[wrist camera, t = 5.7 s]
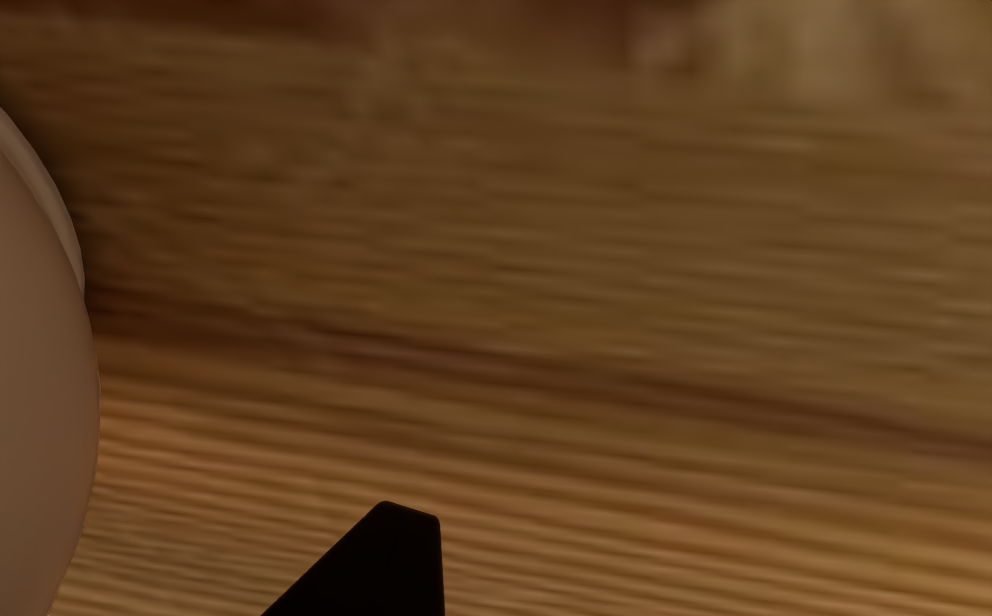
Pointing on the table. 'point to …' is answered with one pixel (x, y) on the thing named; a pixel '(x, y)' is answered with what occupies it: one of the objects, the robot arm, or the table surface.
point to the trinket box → (41, 383)
